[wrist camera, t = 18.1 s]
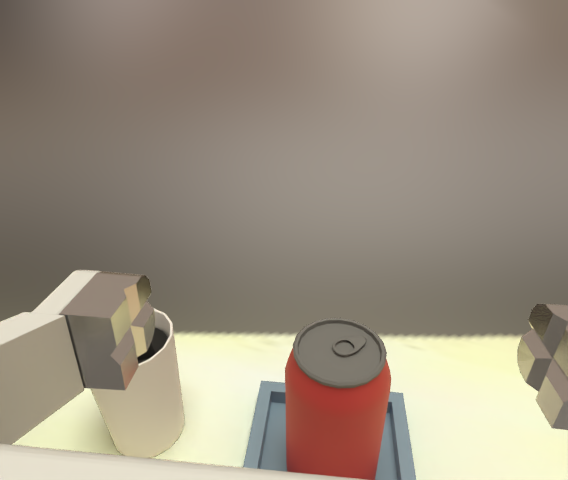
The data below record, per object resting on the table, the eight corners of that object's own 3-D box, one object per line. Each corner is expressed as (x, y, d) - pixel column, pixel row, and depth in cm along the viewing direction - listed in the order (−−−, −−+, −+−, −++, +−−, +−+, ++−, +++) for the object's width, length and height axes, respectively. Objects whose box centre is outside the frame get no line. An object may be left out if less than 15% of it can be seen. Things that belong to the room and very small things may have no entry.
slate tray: (231, 548, 27) (229, 533, 26) (262, 396, 37) (261, 380, 36) (423, 574, 26) (428, 558, 25) (399, 408, 36) (402, 393, 35)
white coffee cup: (180, 383, 39) (163, 297, 34) (199, 444, 33) (182, 353, 28) (104, 410, 36) (73, 321, 31) (110, 479, 31) (75, 386, 26)
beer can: (394, 483, 30) (420, 363, 24) (316, 532, 27) (323, 411, 21) (341, 414, 35) (351, 300, 29) (270, 449, 32) (265, 332, 26)
